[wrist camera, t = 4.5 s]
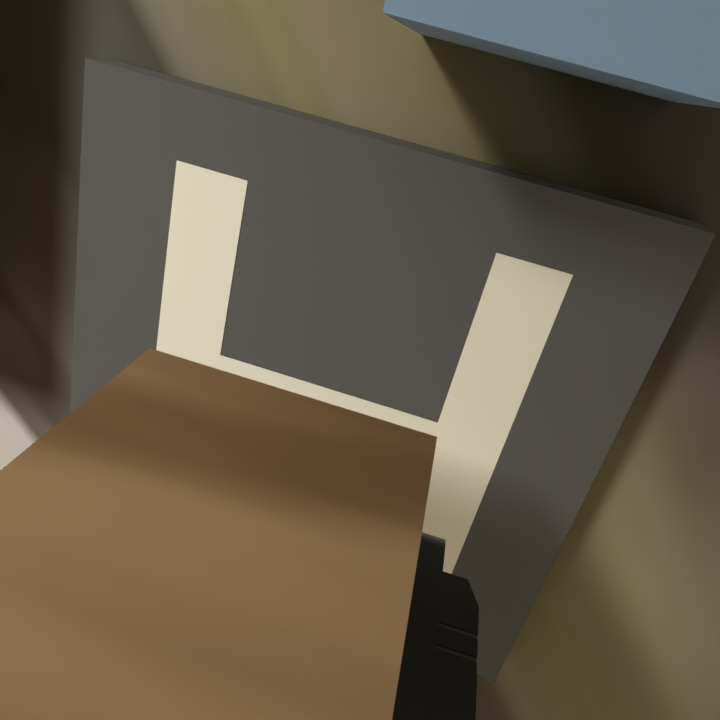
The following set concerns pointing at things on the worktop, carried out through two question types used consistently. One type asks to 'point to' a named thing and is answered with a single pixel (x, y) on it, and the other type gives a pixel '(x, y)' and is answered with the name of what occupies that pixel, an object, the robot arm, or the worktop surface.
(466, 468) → the letter mat
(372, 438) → the walnut block
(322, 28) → the worktop surface
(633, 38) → the slate cube
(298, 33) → the worktop surface
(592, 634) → the worktop surface
